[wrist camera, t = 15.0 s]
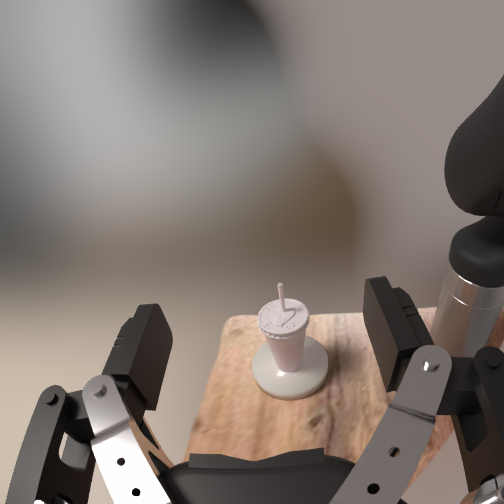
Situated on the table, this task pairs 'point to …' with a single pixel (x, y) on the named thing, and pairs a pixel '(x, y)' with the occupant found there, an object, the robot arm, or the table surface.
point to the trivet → (293, 382)
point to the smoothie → (285, 330)
